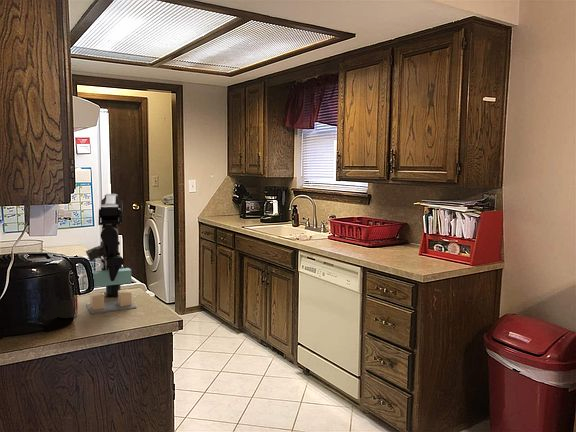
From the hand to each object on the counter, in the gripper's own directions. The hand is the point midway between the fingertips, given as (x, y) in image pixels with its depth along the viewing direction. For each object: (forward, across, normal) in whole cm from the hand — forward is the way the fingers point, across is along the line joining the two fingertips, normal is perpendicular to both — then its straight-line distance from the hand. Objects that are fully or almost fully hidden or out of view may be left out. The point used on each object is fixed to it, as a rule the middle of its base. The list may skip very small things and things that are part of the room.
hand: (111, 279), depth 184 cm
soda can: (+11, +4, -16) cm, 20 cm away
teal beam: (+2, 0, 0) cm, 2 cm away
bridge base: (+11, -1, 0) cm, 11 cm away
